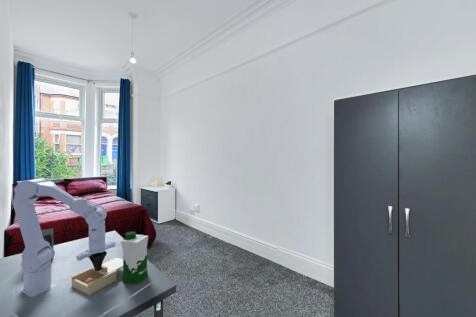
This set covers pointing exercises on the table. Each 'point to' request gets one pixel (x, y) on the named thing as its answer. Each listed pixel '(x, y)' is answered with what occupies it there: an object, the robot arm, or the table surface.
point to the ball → (89, 280)
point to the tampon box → (48, 237)
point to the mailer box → (97, 284)
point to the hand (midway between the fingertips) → (97, 270)
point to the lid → (111, 266)
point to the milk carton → (134, 257)
